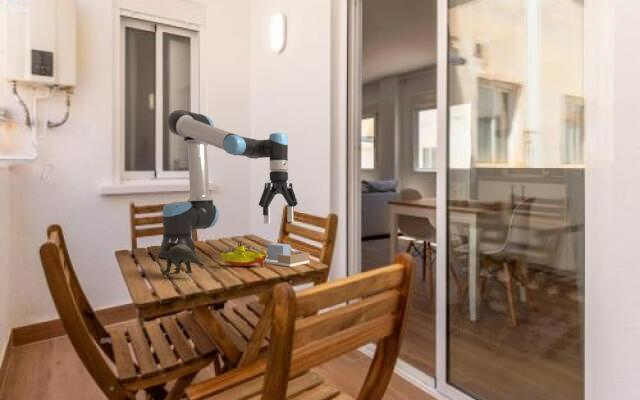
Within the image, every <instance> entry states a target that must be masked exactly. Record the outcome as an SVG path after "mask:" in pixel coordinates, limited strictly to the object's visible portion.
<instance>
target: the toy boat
mask: <svg viewBox="0 0 640 400" xmlns="http://www.w3.org/2000/svg"><path fill="white" fill-rule="evenodd" d="M242 243H244V244H245V245H249V246H250V247H251V246H252V245H250V244H248V243H246V242H244V241H242V240H239V241H238V242H237V244H238V245H237V246H235V247H236V250H235V251H234V252H229V251H225V252H222V253H221V255H220V256H221V260H222V261H223V262H225V263H226V264H229V265H232V266H235V267H248V266H251V265H254V264H256V263H258V264H259V265H260V267H261V268H263V267H264V266H266V265H267V263H266V261H264V260H265V259H266V258H265V257H266V252H265V250H262V251H261V254H260V253H258V252H256V251H252V250H257V249H258V248H255V247H253V246H252V250H247V249H248V248H245V247H244V246H245V245H242ZM246 250H247V251H246ZM258 251H259V250H258ZM259 252H260V251H259ZM263 261H264V262H263Z"/></svg>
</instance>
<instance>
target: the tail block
mask: <svg viewBox="0 0 640 400" xmlns="http://www.w3.org/2000/svg"><path fill="white" fill-rule="evenodd" d="M266 244H267V243H266ZM266 246H267V247H266V248H267V259H274V260H278V254H282V255H289V256H291V251H292V250H291V249H292V247H291V246H292V245H291V244H285V243H277V242H272V243H268V244H267V245H266Z"/></svg>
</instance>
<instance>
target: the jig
mask: <svg viewBox="0 0 640 400" xmlns="http://www.w3.org/2000/svg"><path fill="white" fill-rule="evenodd" d="M249 245H250V244H248V245H247V244H245V245H243V246H244V247H245V248H248V249H247V250H252V251H256V252H258V253H260V254H261V251H262V250H265V252H266V257H265V258H266V259H265V260H264V261H266V264H270V265H276V266H283V267H284V266H285V267H290V268H291V267H295V266H300V265H304V264H310V252H307V251H306V252H305V251H297V250H295V251H294V254H292V255H291V256H289V255H282V254H278V260H274V259H267V247H262V246H261V247H260V248H256V249H257V250H256V249H253V248H252V247H253V245H250V246H251V247H250V246H249ZM236 247H237V246H232V247H231V246H230V247H228V252H234V251H235V250H236ZM247 250H246V251H247ZM258 250H259V251H260V252H259V251H258ZM264 261H263V263H264Z"/></svg>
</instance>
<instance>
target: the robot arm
mask: <svg viewBox="0 0 640 400" xmlns="http://www.w3.org/2000/svg"><path fill="white" fill-rule="evenodd" d="M166 125H167V128H168V130H169V131H170V132H171V133H172V134H173V135H175V136H179V137H182V138H183V143H184V144H185V145H186V146H187V158H188V176H189V177H188V181H189V198H188V199H187V201H175V202H170V203H165V204H164V205H163V208H162V240H161V243H160V247H159V249H158V257H159V258H162V259H163V258H164V259H166V255H167V253H168V251H167V252H164V251H163V250H162V249H163V248H162V247H163V246H164V244H166V243H168V242H169V240H170V241H171V242H175V241H176V240H177V238H178V241H177V244H179V245H180V244H182V245H185V246H187V247H189V248H190V249H191V250H192V252H193V253H194V255H195V256H196V251H197V250H196V247H195V244H194V241H193V239H192V231H194V230H205V229H209V228H212V227H214V226H215V225H216V224H217V222H218V220H219V218H220V217H219V216H220V213H219V211H220V210H219V208H218V207H217V205H215V204H214V199H213V198H212V197H211V196H210V186H209V185H210V184H209V165H208V164H209V162H208V145H210V146H212V147H215V148H217V149H220V150H223V151H225V152H226V154H229V155H233V156H240V157H241V156H242V157H247V158H248V159H254V160H255V159H264V158H265V159H266V158H269V171H270V172H269V181H270V182H265V183H264V188H263V191H262V194H261V197H260V200H259V202H258V206H260V208H262V215H263V224H265V225H270V224H271V207H269V206H270V205H271V203H272V201H273V199H274V198H275V196H277V194H278V195H282V197H283V198H284V200H285V201H286V203H287V205H288V206H287V207H286V208H287V209H286V210H287V212H286V214H287V218H286V219H287V222H288V223H293V222H294V214H295V207H297V205H298V200H297V197H296V195H295V191H294V189H293V183H291V182H290V183H289V182H287V181H289V172H288V170H289V163H288V162H289V160H288V158H289V157H288V155H289V152H288V150H289V148H288V147H289V142H288V141H289V140H288V135H287V134H286V133H282V132H273V133H269V137H268V139H255V138H251V137H250V138H249V137H245V136H241V135H238V134H236V133H232V132H230V131H227V130H225V129H221V128H219V127H216V126H215V124H214V123H213V120H212V119H211V118H210V117H209V116H207V115H205V114H202V113H197V112H191V111H188V110H184V109H178V110H174V111H172V112H170V114H169V115H168V116H167V119H166Z"/></svg>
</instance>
